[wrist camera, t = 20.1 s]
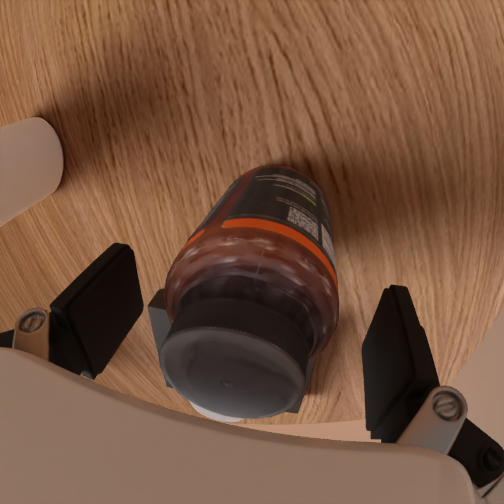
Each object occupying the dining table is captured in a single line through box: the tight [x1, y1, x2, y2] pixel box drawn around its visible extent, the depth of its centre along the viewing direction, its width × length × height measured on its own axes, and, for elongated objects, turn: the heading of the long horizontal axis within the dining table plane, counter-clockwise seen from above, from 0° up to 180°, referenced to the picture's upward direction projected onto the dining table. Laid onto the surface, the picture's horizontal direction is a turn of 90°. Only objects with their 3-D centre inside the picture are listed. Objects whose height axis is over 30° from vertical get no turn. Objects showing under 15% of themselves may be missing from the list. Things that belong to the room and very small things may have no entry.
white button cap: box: [191, 402, 244, 422], centre depth 19 cm, size 4×4×2 cm
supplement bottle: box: [159, 165, 339, 419], centre depth 12 cm, size 6×6×11 cm
